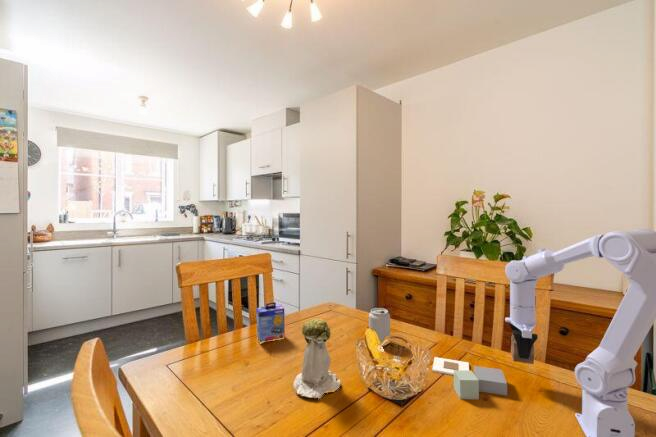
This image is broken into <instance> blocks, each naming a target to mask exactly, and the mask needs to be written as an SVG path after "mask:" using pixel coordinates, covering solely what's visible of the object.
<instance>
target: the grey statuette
mask: <svg viewBox="0 0 656 437" xmlns="http://www.w3.org/2000/svg"><path fill="white" fill-rule="evenodd" d="M331 328H332V326H330V327H329V325H328V323H327V322H326V320H324V319H321V318H312V319H310V320H308V321H306V322H303V326H302V330H301V332H302V335H303V336H304V340H305V342H306V343H307V344H306V345H305V348H304V352H303V353H304V354H303V360H302V367H301V372H300V373H299V374H297V375H296V376H295V378H294V381H293V384H292V385H293V390H294V389H295V390H296V391H297V395H300V396H301V397H306V398H311V399H312V398H314V399H317V398H318V400H319V398H321V396H322V395H323V394H324V393H325V392H326V391H333V390H337V389H338V388H339V387H341V379H340V377H338V379H337V374H336V373H334V374H332V371H331V370H329V368H330V365H331V356H330V355H329V350H328V349H327V344H326V342H327V341H329V339H330V338H331ZM336 379H337V380H336ZM339 389H340V388H339ZM339 389H338V390H339ZM338 390H337V391H338ZM324 395H325V394H324ZM324 395H323V396H324ZM323 396H322V397H323ZM321 399H322V398H321Z"/></svg>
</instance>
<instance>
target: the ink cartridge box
mask: <svg viewBox="0 0 656 437" xmlns="http://www.w3.org/2000/svg"><path fill="white" fill-rule="evenodd" d="M255 310H256V311H255V312H256V333H257V334H256V335H257V336H256V337H258V339H257V341H258V340H259V341H260V342H262V341H268V340H273V339H279V338H283V337H285V332H286V331H285V328H286V327H285V308H284V306H283V305H282V304H277V302H276V301H275V302H274V301H273V302H269V303H266V305H265V306H260V307H256V308H255ZM285 338H286V337H285Z"/></svg>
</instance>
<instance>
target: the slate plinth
mask: <svg viewBox="0 0 656 437" xmlns="http://www.w3.org/2000/svg"><path fill="white" fill-rule="evenodd" d="M473 373H474V375H475V376H476V377H477V379H478V380H479V393H480V392H483V393H489V394H494V395H502V396H508V383H507V379H506V377H505V375H504V372H503V370H502V369H499V368H492V367H484V366H477V365H474V366H473Z"/></svg>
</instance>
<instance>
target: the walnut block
mask: <svg viewBox="0 0 656 437" xmlns="http://www.w3.org/2000/svg"><path fill="white" fill-rule="evenodd" d="M510 337H511V338H510V340H511V341H510V343H511V344H510V346H511V347H510V349H511V350H510V354H511V357H512V360H513V362H515V363H516V362H517V363H523V364H528V365H535V345H534V344H533V346H532V349H531V353H530V356H529V359H524V358H519V355H518V350H517V344H516V340H515V338H514V336H513V335H512V336H510Z"/></svg>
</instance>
